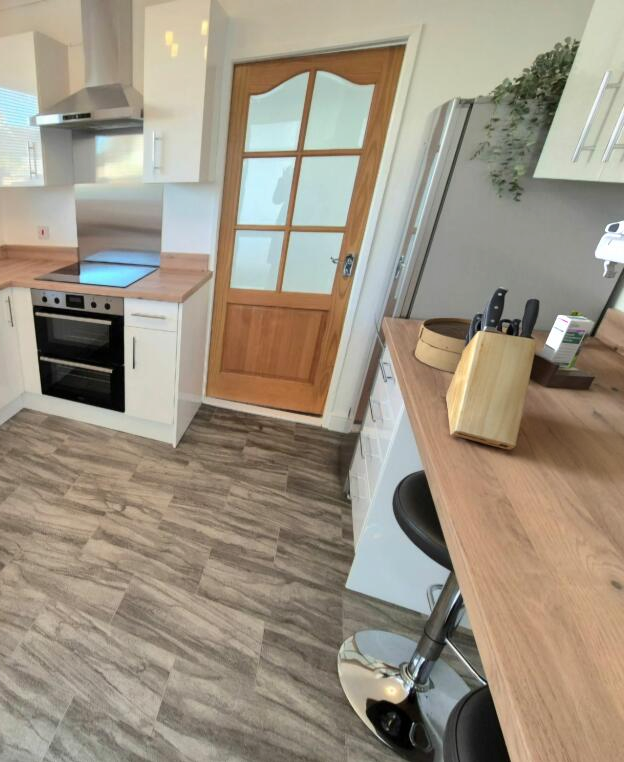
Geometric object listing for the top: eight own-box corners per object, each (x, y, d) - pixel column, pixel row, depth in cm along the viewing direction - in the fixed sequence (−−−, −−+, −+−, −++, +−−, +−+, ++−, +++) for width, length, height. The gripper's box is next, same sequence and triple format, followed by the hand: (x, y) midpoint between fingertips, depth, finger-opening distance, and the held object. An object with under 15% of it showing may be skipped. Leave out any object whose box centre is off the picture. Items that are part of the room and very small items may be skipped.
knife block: (492, 394, 120) (540, 285, 107) (511, 457, 94) (579, 323, 80) (443, 384, 126) (483, 279, 112) (448, 441, 100) (502, 313, 86)
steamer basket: (399, 358, 144) (409, 326, 139) (429, 342, 157) (439, 312, 152) (490, 384, 126) (506, 349, 121) (515, 363, 139) (530, 330, 134)
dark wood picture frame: (547, 366, 137) (557, 346, 134) (588, 389, 123) (600, 367, 120) (508, 364, 139) (517, 344, 136) (545, 386, 125) (556, 365, 121)
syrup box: (548, 366, 127) (571, 319, 121) (537, 359, 132) (558, 313, 126) (572, 368, 126) (596, 321, 119) (559, 361, 131) (582, 315, 124)
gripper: (706, 233, 102) (675, 290, 108) (627, 224, 120) (604, 273, 126) (675, 233, 103) (645, 290, 109) (601, 224, 121) (579, 273, 127)
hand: (623, 281), depth 118 cm, fingers open, 8 cm apart
